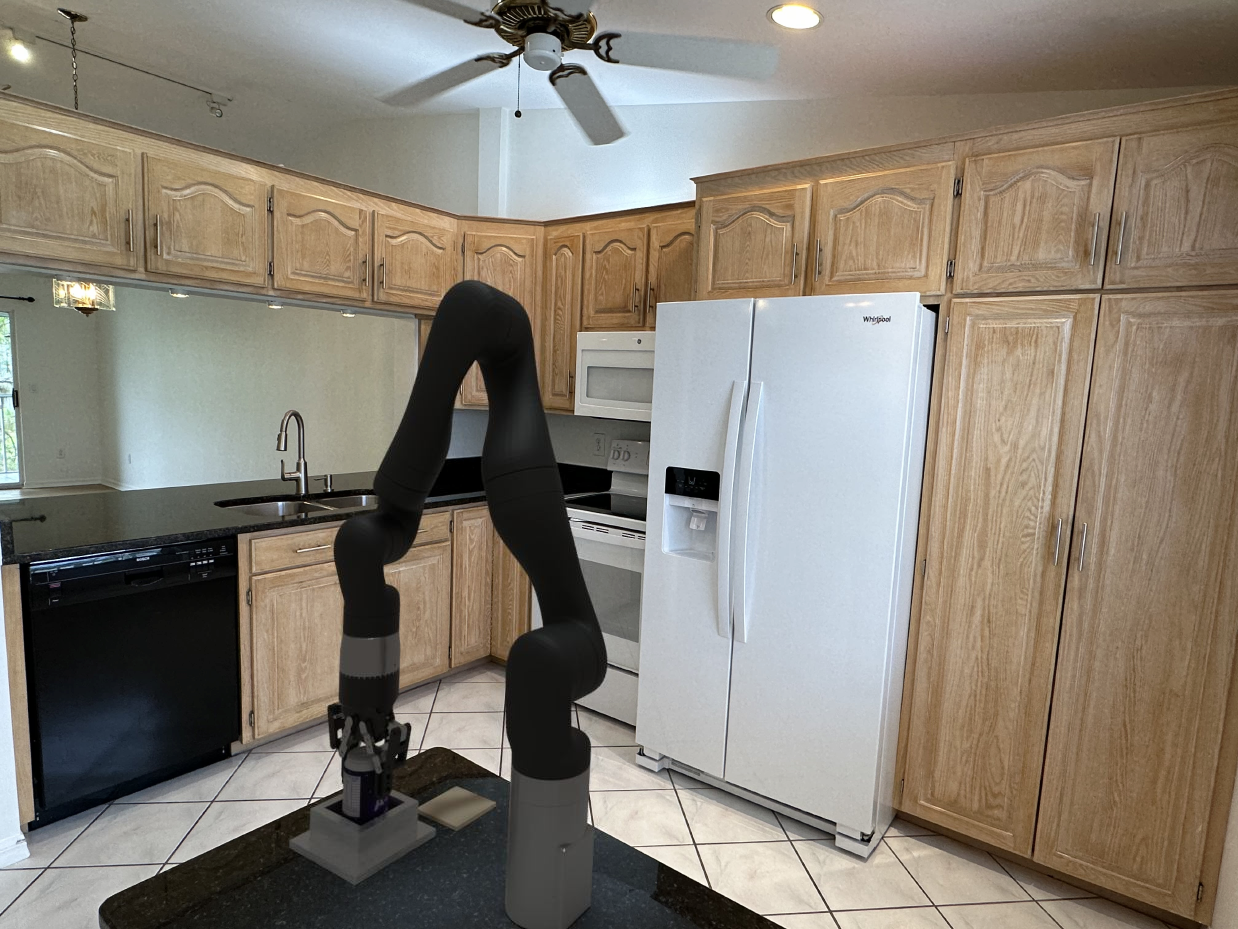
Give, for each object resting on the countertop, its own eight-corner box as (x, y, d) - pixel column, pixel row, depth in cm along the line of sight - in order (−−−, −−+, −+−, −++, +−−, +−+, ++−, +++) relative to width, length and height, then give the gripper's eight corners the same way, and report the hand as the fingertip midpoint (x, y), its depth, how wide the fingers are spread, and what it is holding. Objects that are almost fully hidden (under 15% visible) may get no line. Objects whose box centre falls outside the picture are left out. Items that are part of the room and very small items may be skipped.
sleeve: (435, 836, 96) (436, 800, 96) (355, 885, 85) (356, 845, 85) (371, 805, 103) (372, 771, 103) (289, 847, 92) (290, 810, 92)
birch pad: (495, 806, 104) (496, 802, 104) (456, 831, 98) (457, 827, 98) (456, 790, 109) (456, 786, 109) (416, 812, 102) (416, 808, 102)
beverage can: (377, 855, 91) (381, 764, 91) (333, 853, 91) (336, 761, 91) (392, 830, 97) (395, 744, 96) (351, 828, 97) (353, 742, 96)
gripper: (430, 669, 93) (425, 795, 93) (357, 647, 100) (353, 764, 101) (384, 685, 86) (379, 820, 87) (310, 660, 94) (306, 785, 94)
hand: (365, 789), depth 94 cm, fingers closed on beverage can, 5 cm apart
